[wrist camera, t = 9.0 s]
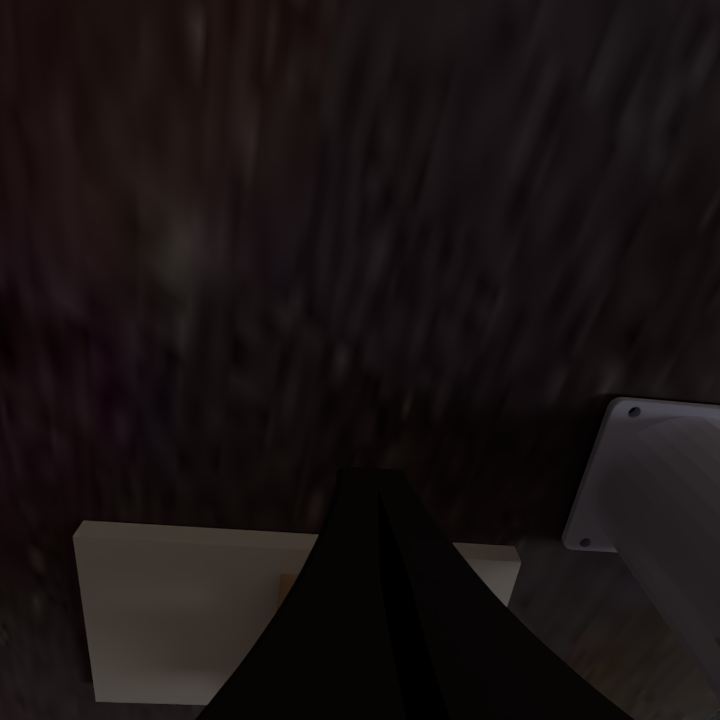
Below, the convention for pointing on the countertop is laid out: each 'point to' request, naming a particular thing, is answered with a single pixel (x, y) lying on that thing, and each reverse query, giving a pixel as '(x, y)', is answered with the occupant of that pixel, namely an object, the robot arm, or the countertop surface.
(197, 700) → the baseplate
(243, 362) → the countertop surface
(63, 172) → the countertop surface
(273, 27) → the countertop surface
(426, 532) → the robot arm
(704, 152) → the countertop surface
